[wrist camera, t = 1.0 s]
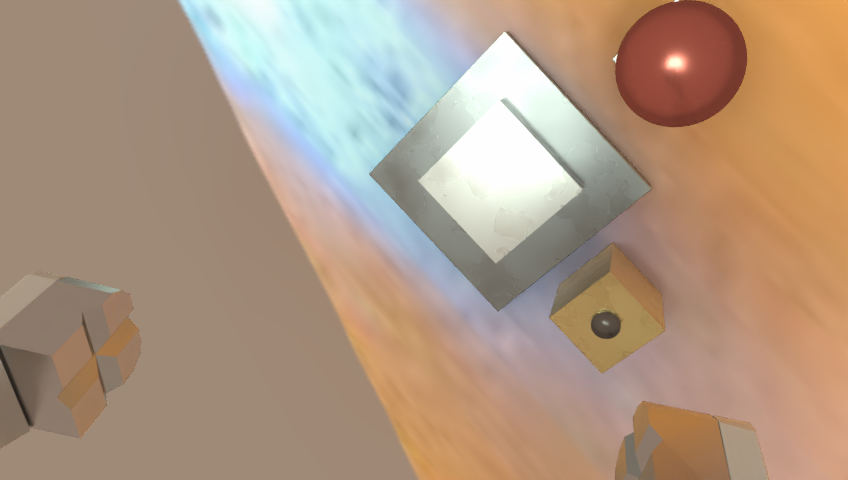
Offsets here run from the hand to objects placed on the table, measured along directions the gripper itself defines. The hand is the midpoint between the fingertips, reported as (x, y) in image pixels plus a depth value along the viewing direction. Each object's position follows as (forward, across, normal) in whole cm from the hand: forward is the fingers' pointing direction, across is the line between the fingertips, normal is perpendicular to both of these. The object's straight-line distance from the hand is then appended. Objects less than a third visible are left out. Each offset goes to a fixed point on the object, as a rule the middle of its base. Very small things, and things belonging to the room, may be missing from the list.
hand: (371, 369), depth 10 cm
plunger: (+30, +9, -4) cm, 32 cm away
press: (+34, +3, -12) cm, 36 cm away
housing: (+31, +10, -21) cm, 39 cm away
